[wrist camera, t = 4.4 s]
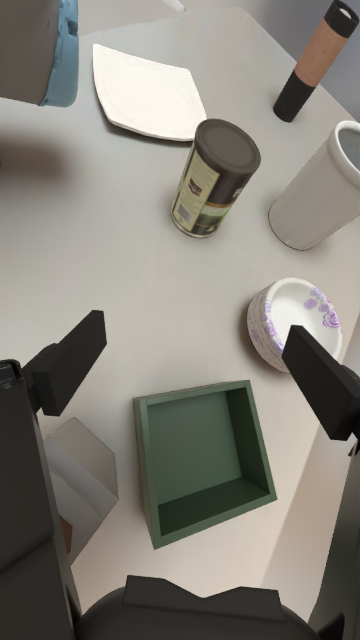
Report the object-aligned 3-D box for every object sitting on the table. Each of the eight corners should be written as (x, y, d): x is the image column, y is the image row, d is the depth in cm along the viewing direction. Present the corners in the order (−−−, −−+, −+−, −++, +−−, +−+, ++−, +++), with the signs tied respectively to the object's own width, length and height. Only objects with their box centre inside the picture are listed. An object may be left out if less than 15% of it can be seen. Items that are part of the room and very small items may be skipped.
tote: (143, 514, 27) (154, 550, 21) (132, 398, 31) (139, 399, 24) (244, 479, 32) (277, 499, 26) (225, 382, 35) (249, 379, 29)
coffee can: (223, 211, 47) (266, 143, 34) (210, 247, 43) (254, 185, 30) (179, 187, 45) (208, 106, 33) (162, 221, 41) (186, 145, 29)
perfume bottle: (114, 453, 28) (122, 536, 12) (70, 507, 25) (-1, 718, 9) (75, 417, 28) (28, 450, 12) (26, 467, 25) (-125, 605, 9)
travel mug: (269, 101, 67) (329, -7, 49) (289, 108, 70) (352, 7, 52) (276, 119, 65) (341, 13, 47) (296, 125, 68) (365, 27, 50)
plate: (213, 153, 52) (218, 141, 49) (103, 137, 43) (103, 122, 41) (188, 81, 58) (192, 68, 55) (87, 55, 49) (86, 38, 47)
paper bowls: (316, 331, 44) (356, 319, 37) (286, 393, 38) (327, 393, 31) (260, 280, 44) (289, 258, 37) (220, 334, 38) (247, 320, 31)
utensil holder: (290, 261, 48) (379, 197, 33) (253, 207, 50) (321, 121, 34) (327, 243, 54) (417, 181, 39) (293, 195, 56) (366, 117, 40)
